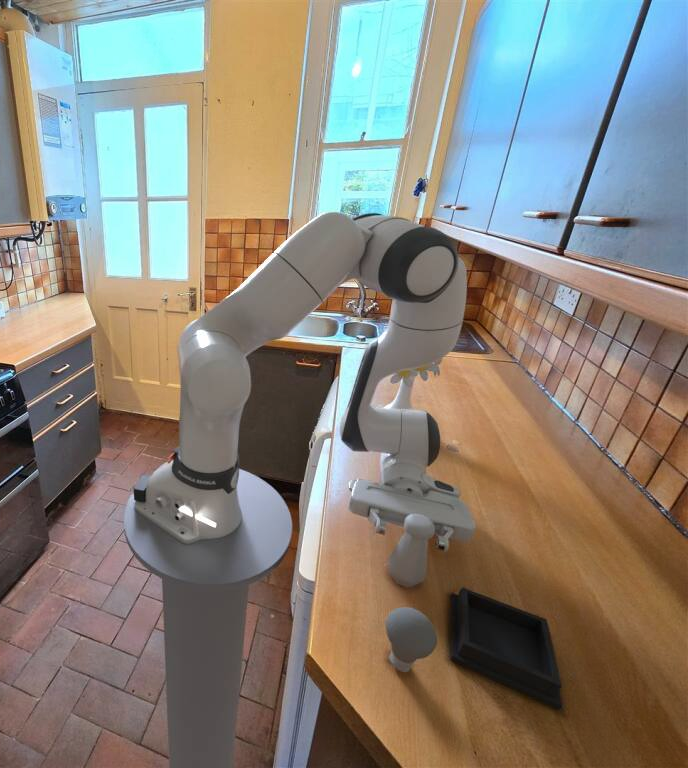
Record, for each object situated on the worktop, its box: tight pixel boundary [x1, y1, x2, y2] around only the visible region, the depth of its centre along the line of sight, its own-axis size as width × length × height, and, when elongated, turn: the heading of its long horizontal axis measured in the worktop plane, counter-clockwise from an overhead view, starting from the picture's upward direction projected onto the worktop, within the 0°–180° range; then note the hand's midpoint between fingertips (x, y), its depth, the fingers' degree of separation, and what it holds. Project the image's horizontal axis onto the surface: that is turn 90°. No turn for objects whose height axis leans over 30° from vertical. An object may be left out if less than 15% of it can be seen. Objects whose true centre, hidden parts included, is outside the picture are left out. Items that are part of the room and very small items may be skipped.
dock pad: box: [449, 586, 563, 711], centre depth 59 cm, size 12×12×4 cm
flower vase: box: [383, 358, 443, 410], centre depth 110 cm, size 13×18×25 cm
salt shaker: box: [387, 514, 435, 589], centre depth 68 cm, size 6×6×13 cm
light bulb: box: [385, 606, 438, 673], centre depth 55 cm, size 6×6×10 cm
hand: (410, 539), depth 69 cm, fingers open, 8 cm apart
